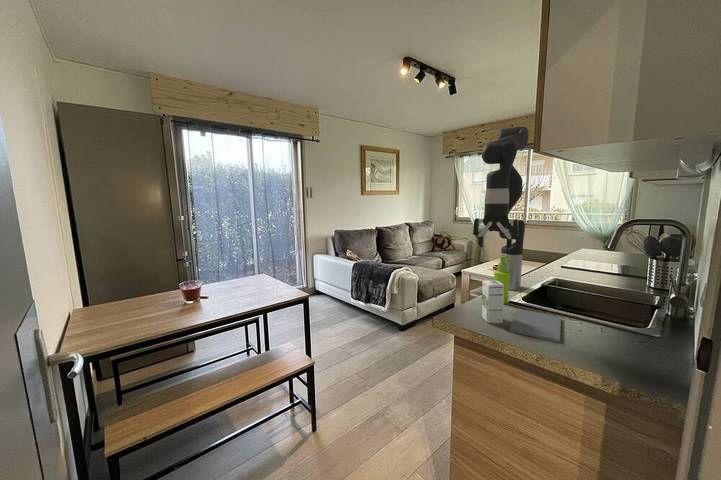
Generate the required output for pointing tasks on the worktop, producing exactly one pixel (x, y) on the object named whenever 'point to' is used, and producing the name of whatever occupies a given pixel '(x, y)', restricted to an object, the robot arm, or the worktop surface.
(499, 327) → the worktop surface
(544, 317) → the slate mat
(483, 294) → the syrup box
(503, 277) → the soap dispenser
